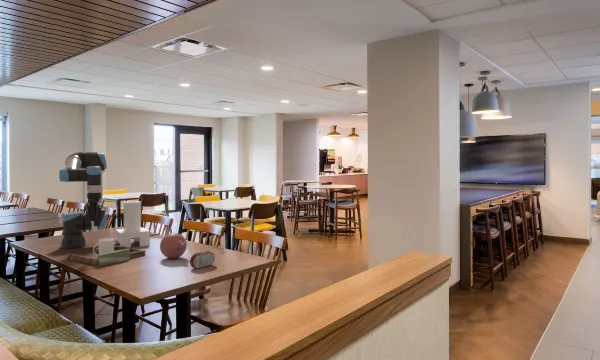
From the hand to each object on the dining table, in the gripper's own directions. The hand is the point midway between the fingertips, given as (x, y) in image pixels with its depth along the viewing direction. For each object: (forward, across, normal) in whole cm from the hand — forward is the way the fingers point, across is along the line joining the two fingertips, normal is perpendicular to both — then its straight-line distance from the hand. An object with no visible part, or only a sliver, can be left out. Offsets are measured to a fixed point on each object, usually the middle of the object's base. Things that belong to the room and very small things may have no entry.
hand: (94, 231), depth 236 cm
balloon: (+16, +42, +24) cm, 51 cm away
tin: (+16, +69, +19) cm, 74 cm away
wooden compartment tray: (+16, +4, +6) cm, 17 cm away
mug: (+16, +9, 0) cm, 18 cm away
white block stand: (+17, -16, +38) cm, 44 cm away
